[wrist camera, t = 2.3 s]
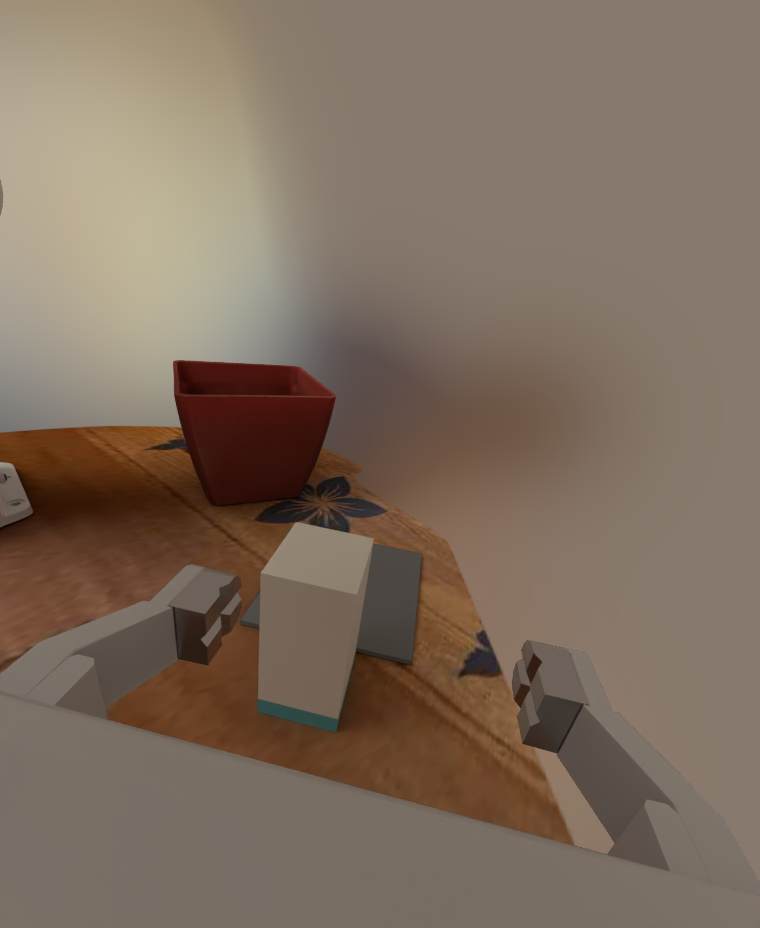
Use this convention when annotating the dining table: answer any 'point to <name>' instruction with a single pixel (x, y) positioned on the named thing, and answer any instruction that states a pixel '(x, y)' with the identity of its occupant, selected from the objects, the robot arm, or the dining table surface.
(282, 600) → the cream block
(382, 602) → the mat
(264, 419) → the plant pot
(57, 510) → the dining table surface
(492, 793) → the dining table surface
